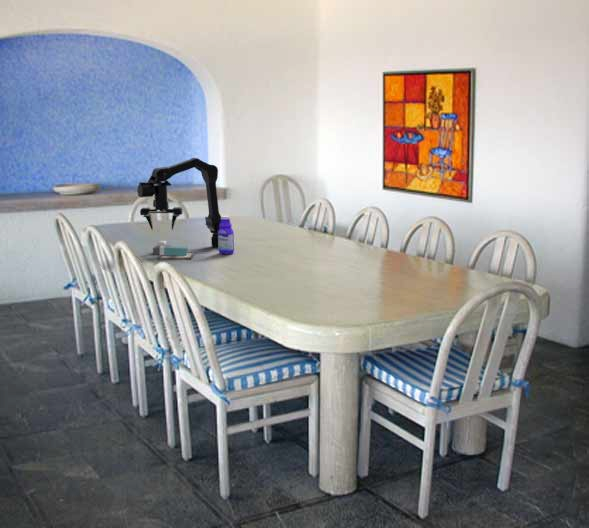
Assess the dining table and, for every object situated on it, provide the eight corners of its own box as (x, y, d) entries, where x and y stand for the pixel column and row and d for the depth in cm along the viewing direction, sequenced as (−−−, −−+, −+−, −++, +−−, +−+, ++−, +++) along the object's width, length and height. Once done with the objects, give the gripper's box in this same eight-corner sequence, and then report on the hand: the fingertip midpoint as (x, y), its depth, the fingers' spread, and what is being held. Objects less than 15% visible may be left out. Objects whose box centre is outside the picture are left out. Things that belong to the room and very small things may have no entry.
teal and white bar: (187, 254, 349) (187, 246, 348) (186, 255, 346) (186, 248, 345) (161, 253, 349) (161, 245, 348) (159, 254, 346) (159, 247, 345)
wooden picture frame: (194, 254, 353) (194, 251, 353) (190, 259, 342) (190, 256, 342) (161, 254, 353) (161, 251, 353) (157, 259, 342) (156, 256, 342)
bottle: (216, 253, 354) (215, 216, 351) (223, 251, 359) (222, 214, 356) (229, 255, 351) (228, 217, 347) (236, 253, 356) (235, 215, 352)
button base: (170, 251, 361) (170, 245, 360) (168, 254, 354) (168, 247, 353) (156, 251, 361) (155, 245, 360) (153, 254, 354) (152, 247, 353)
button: (167, 247, 359) (166, 240, 358) (165, 248, 355) (165, 242, 354) (158, 247, 359) (158, 240, 358) (156, 248, 355) (156, 242, 354)
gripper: (183, 193, 359) (184, 226, 363) (142, 194, 358) (144, 227, 362) (180, 196, 349) (182, 230, 352) (139, 197, 348) (140, 231, 351)
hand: (162, 229), depth 354 cm, fingers open, 9 cm apart
